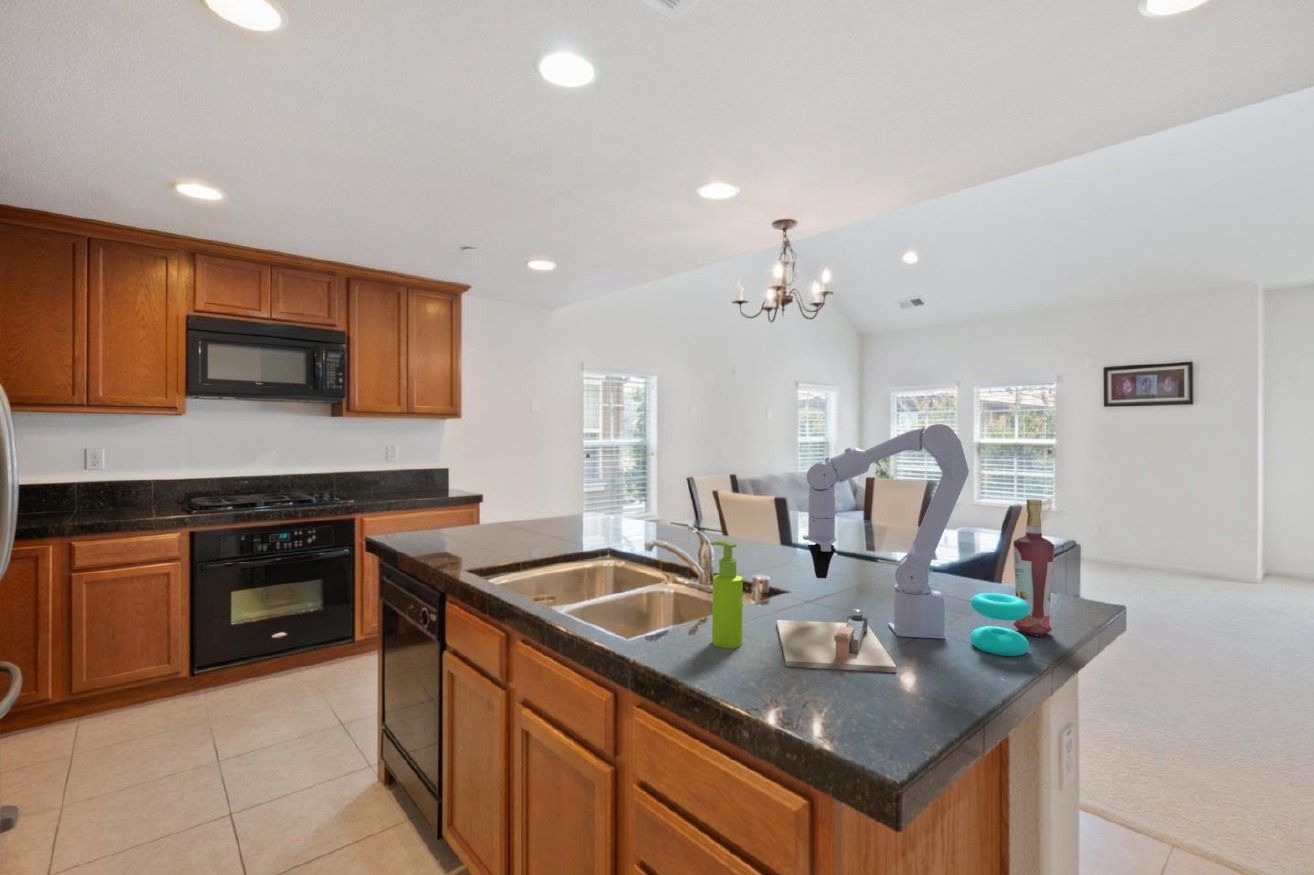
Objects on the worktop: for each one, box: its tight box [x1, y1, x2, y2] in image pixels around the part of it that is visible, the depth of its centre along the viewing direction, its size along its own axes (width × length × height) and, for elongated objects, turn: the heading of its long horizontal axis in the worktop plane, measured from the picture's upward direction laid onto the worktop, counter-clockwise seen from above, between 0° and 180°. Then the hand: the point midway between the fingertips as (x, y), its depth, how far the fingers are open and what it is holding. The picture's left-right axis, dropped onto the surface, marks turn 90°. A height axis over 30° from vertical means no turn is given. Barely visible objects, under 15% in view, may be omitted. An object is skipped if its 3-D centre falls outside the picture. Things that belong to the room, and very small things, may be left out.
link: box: [846, 608, 869, 653], centre depth 122 cm, size 16×4×4 cm, turn 156°
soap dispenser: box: [709, 540, 744, 649], centre depth 123 cm, size 6×7×20 cm
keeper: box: [834, 626, 854, 660], centre depth 115 cm, size 6×2×4 cm, turn 153°
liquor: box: [1013, 498, 1055, 637], centre depth 130 cm, size 7×7×28 cm
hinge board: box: [776, 619, 897, 673], centre depth 121 cm, size 19×24×1 cm
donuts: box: [969, 592, 1030, 657], centre depth 120 cm, size 10×10×10 cm
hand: (821, 577), depth 138 cm, fingers closed
